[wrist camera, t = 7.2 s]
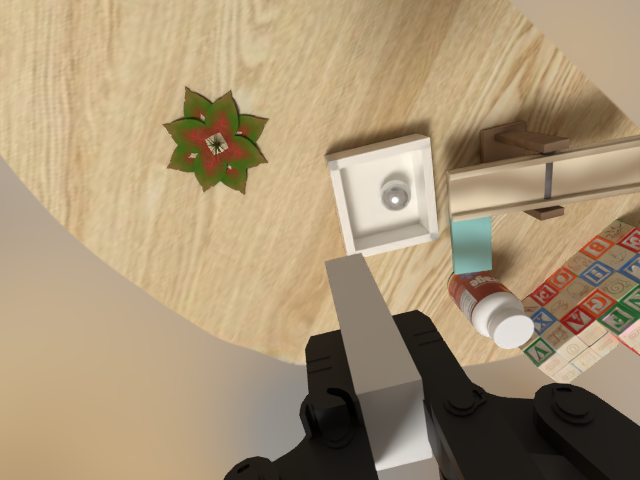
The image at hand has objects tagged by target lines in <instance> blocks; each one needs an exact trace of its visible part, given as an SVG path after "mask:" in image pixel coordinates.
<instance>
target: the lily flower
mask: <svg viewBox="0 0 640 480" xmlns="http://www.w3.org/2000/svg"><path fill="white" fill-rule="evenodd" d="M185 90H186V92H185V100H186V101H185V102H184V116H185V119H184V120H179V121H175V122H172V123H171V124H169V125H168V124H162V125H163V126H164V127H165V128H166V129H167V131H168V132H169V134H171V135H172V138H173V140H174V141H175V142H176V143H177V144H178V146H177V148H176V149H175V151H174V152H173V155H172V157H171V160H170V162H171V164H169V165H168V167H167V168H169V169H170V168H171V169H175V170H178V169H179V170H180V171H183V172H195V176H196V178H197V180H198V182H199V183H200V185H201V186H202V187H203V192H205V191H206V190H208V189H209V188H211V186H214V185H216V184H217V183H218V182H220V181H221V182H223V183H224V184H225V185H227V186H228V187H230V188H232V189H234V190H238V191H240V192H241V193H243V194H244V195H245V192H244V191H245V183H246V176H247V173H246V169H248V168H252V167H255V166H258V165H259V164H261V163H268V162H267V161H266V160H265V159H264V158H263V156H262V155H260V154H259V151H258V150H257V148H256V147H255V146H254V145H253V144H254V143H255V142H256V141H257V140H258V138H259V136H260V135H261V133H262V131H263V128H264V127H263V126H264V124H266V123H267V121H268V120H266V119H265V120H264V119H260V118H257V119H256V118H255V117H252V116H244V115H240V116H238V115H237V111H236V107H235V104H234V101H233V100H232V98H231V90H230V91H229V92H228V94H226V95H224V96H223V97H222V98H221V99H218V100H217V101H216V102H214V103H213V104H211V103H209V102H208V101H207V100H205V99H204V98H202V97H201V96H199V95H197V94H196V93H192V92H190V90H189V89H187V88H186V87H185ZM200 113H201V114H202V115H203V116H205V124H203V123H202V122H201V119H200V116H201V115H200ZM237 131H240V132H242V134H241V136H234V135H235V134H236V132H237ZM219 132H220V133H221V134H222V136H223V137H224V139H225V141H226V142H227V145H228V149H227V150H225V151H223V152H221V151H220V149H219V146H220V144H219V143H218V142H215V137H214V142H213V141H212V140H211V139H210V138H209V137H210V136H212V135H214V134H216V133H219ZM216 137H217V136H216ZM207 138H209V139H210V140H211V141H212V142H213V143H214V144H212V143H211V142H210V141H209V140H208V139H207ZM205 139H207V140H208V141H209V142H210V143H211V144H210V145H207V143H206V141H205ZM225 141H224V142H225ZM217 143H218V144H217ZM221 143H222V142H221ZM216 144H217V145H216ZM222 144H223V143H222ZM208 146H215V147H216V149H215V155H213V153H214V152H213V151H212V152H213V153H212V152H211V150H210V148H208ZM215 147H214V148H215ZM220 147H221V146H220ZM211 148H212V147H211ZM221 148H222V147H221ZM217 149H218V151H219V152H221V153H220V154H217ZM222 149H223V148H222ZM213 150H214V149H213ZM191 153H199V154H198V155H197V156H196V158H188V157H190V155H191ZM227 163H228V164H229V165H230V166H232V168H231V169H229V168H227Z"/></svg>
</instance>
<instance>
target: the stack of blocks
mask: <svg viewBox="0 0 640 480" xmlns="http://www.w3.org/2000/svg"><path fill="white" fill-rule="evenodd" d="M521 303H522V304H523V307H524V313H526V314H527V316H528V317H530V319H531V320H532V321H533V324H534V331H533V334H532V336H531V337H530V339H529V340H528V341H527V342H526V343H524V344H523V345H521V346H519V348H520V349H521V350H522V351H523V352H524V353H525V354H526V356H527V357H528V358H529V359H530V360H531V361H532V362H533V363H534V364H535V365H536V366H537V367H538V368H539V369H540V370H542V371H543V372H544V373H546V374H547V375H548V376H549V377H551V378H553V379H554V380H555V381H556V382H558V383H567V384H568V383H569V382H571V381H572V380H573V379H574V378H576V377H577V376H578V375H580V373H581V372H584V371H585V370H587V369H588V368H589V367H590V366H592V365H593V364H594V363H596V362H597V361H598V360H599V359H600V358H601V357H603V356H605V355H606V354H607V353H608V352H610V351H611V350H612V349H613V348H615V347H616V346H617V345H618V344H619V343H620V341H621V342H622V343H623V344H624V345H626V346H627V347H628V348H630V349H631V350H633V351H634V352H635V353H637V354H638V355H639V356H640V229H639V228H635V227H634V226H631V225H629V224H626V223H623V222H621V221H618V220H615V221H614V222H612V223H611V224H610V225H609V226H608V227H607V228H605V229H604V230H603V231H602V232H601V233H600V234H598V235H597V236H595V237H594V238H593V239H592V240H591V241H590V242H589V243H587V244H586V245H585V246H584V247H583V248H582V249H581V250H580V251H579V252H577V253H576V254H575V255H574V256H572V257H571V258H570V259H569V260H568V261H567V262H566V263H564V264H563V265H562V267H561V268H560V269H558V271H556V272H555V273H554V274H553V275H552V276H551V277H550V278H549V279H547V280H546V282H544V283H543V284H542V285H541V286H540V287H539V288H537V289H536V290H535V291H534V292H533V293H532V294H531V295H530V296H528V297H527V298H526V299H524V300H523V301H522V302H521Z"/></svg>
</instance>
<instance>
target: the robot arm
mask: <svg viewBox="0 0 640 480" xmlns="http://www.w3.org/2000/svg"><path fill="white" fill-rule="evenodd" d="M325 266H326V270H327V274H328V278H329V283H330V287H331V291H332V295H333V300H334V304H335V308H336V312H337V317H338V321H339V325H340V330H336V331H331V332H327V333H323V334H319V335H315V336H311V337H310V339H309V341H308V344H307V346H306V348H305V353H306V363H307V364H306V366H307V378H308V390H309V394H308V395H307V396H306V398H305V399H304V401H303V402H302V404H301V408H300V414H299V416H300V419H301V421H302V424H303V427H304V430H305V433H306V436H305V437H304V439H303V440H302V441H301V442H300V443H299V445H298V446H297V447H295V448H294V449H293V450H291V451H290V452H288V453H287V454H285V455H283V456H282V457H280V458H278V459H277V460H276V461H273V462H271V461H270V460H269V459H268V458H263V457H259V456H257V457H252V458H247V459H245V460H243V461H242V462H240V463H238V464H236V465H235V466H234V467H233V468H232V469H231V470H230V471H229V472H228V473H227V475H226V476H225V478H224V480H379V479H378V475H377V471H378V470H382V469H387V468H391V467H395V466H399V465H403V464H407V463H411V462H415V461H419V460H423V459H428V458H432V452H431V448H432V451H433V453H434V456H435V458H436V460H437V463H438V465H439V473H440V480H640V426H639V425H637V424H636V423H635V422H633V421H632V420H630V419H629V418H627V417H626V416H625V415H623V414H622V413H620V412H619V411H618V410H616V409H615V408H613V407H612V406H610V405H609V404H608V403H606V402H605V401H603V400H602V399H600V398H599V397H598V396H596V395H595V394H593V393H591V392H589V391H587V390H585V389H583V388H581V387H578V386H574V385H571V384H567V383H552V384H548V385H545V386H542V387H541V388H540V389H539V390H538V391H537V392H536V393H535V397H534V399H523V398H506V397H500V396H496V395H493V394H489V393H487V392H485V390H484V389H483V388H481V387H480V386H478V385H476V384H474V383H472V382H471V380H470V379H469V378H468V377H467V375H466V374H465V372H464V371H463V369H462V367H461V366H460V364H459V363H458V361H457V360H456V358H455V357H454V355H453V353H452V352H451V350H450V349H449V347H448V346H447V344H446V342H445V341H444V340H443V338H442V336H441V335H440V333H439V332H438V331H437V328H436V327H435V325H434V324H433V322H432V321H431V319H430V318H429V317H428V316H426V315H425V314H423V313H422V312H420V311H418V310H414V311H410V312H406V313H401V314H397V315H393V316H391V314H390V311H389V309H388V307H387V305H386V303H385V301H384V299H383V297H382V295H381V293H380V290H379V288H378V286H377V284H376V282H375V280H374V278H373V276H372V274H371V272H370V270H369V267H368V265H367V263H366V261H365V259H364V257H363V255H362V253H358V254H353V255H349V256H345V257H341V258H337V259H333V260H329V261H325Z"/></svg>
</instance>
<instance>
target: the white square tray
mask: <svg viewBox="0 0 640 480" xmlns="http://www.w3.org/2000/svg"><path fill="white" fill-rule="evenodd" d="M324 158H325V163H326V167H327V172H328V177H329V181H330V186H331V191H332V195H333V200H334V205H335V209H336V214H337V219H338V224H339V228H340V233H341V238H342V242H343V247H344V250H345V252H346V255H347V256H349V255H353V254H358V253H362V255H363V257H367V256H371V255H375V254H379V253H384V252H388V251H392V250H396V249H400V248H404V247H408V246H413V245H417V244H421V243H425V242H429V241H433V240H437V239H439V237H438V225H437V214H436V202H435V191H434V179H433V168H432V156H431V145H430V137H427V136H424V135H421V134H418V133H415V134H411V135H407V136H403V137H399V138H395V139H390V140H386V141H382V142H378V143H374V144H370V145H366V146H362V147H357V148H353V149H349V150H345V151H341V152H337V153H333V154H329V155H324ZM392 180H400V181H403V182H404V183H406V184H407V185H408V186H409V188H410V190H411V200H410V202H409V204H408V205H407V206H406V207H405V208H404V209H402V210H400V211H390V210H388V209H386V208H385V207H384V206H383V205H382V203H381V201H380V191H381V189H382V187H383V186H384V185H385V184H386V183H387V182H389V181H392Z"/></svg>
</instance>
